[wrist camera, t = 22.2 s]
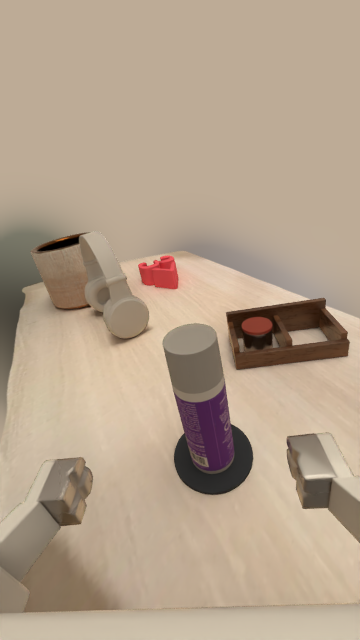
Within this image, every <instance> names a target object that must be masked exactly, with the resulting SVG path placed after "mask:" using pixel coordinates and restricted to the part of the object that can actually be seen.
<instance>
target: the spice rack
mask: <svg viewBox="0 0 360 640" xmlns="http://www.w3.org/2000/svg"><path fill="white" fill-rule="evenodd" d="M325 305H326V300H325V298H319V299H313V300H306V301H299V302H292V303H286V304H279V305H272V306H265V307H259V308H252V309H245V310H238V311H232V312H226V316H227V324H228V333H229V339H230V344H231V348H232V352H233V357H234V361H235V365H236V369H245V368H254V367H262V366H270V365H278V364H286V363H294V362H302V361H310V360H318V359H326V358H335V357H343V356H348V350H349V343H350V342H349V340H348V339H347V334H348V332H347V331H346V330H345V329H344V328H343V327H342V326H341V325H340V324H339V322H338V321H337V320H336V319H335V318H334V317H333V316H332V315H331V314H330V313H329V312H328V311H327V310H326V308H325ZM253 317H263V318H267V319H269V320H270V321H271V322H272V334H273V333H274V335H275V337H276V339H277V341H278V344H279V346H280V347H279V348H271V349H263V350H256V351H248V352H240V350H239V344H238V341H237V338H243V332H242V323H243V322H244V321H245V320H246V319H249V318H253ZM317 327H319V328H320V329H321V330H322V332H323V333H324V334H325V336H326V337H327V338H328V339H329V341H325V342H317V343H309V344H302V345H294V346H292V339H291V337H290V335H289V333H288V332H287V331H295V330H302V329H309V328H317Z"/></svg>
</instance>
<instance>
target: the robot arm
mask: <svg viewBox="0 0 360 640" xmlns="http://www.w3.org/2000/svg"><path fill="white" fill-rule="evenodd" d="M287 445H288V449H287V459H288V464H289V468H290V472H291V475H292V477H293V478H294V479H295V480H296V490H297V493H298V496H299V499H300V502H301V505H302V508H303V509H314V508H328V510H329V511H330V512H331V513H332V514H333V515H334V516H335V517H336V518H337V519H338V520H339V521H340V522H341V524H342V525H343V526H344V527H345V528H346V529H347V530H348V531H349V532H350V533H351V534H352V535H353V536H354V537H355V538H356V539H357V541H358V542H359V543H360V477H359V476H354V475H353V473H352V471H351V470H350V468H349V466H348V464H347V462H346V460H345V458H344V456H343V454H342V453H341V451H340V449H339V447H338V445H337V443H336V441H335V439H334V437H333V436H332V434H331V433H329V432H326V433H318V434H305V435H297V436H288V437H287ZM85 463H86V462H85V460H84V459H83V457H79V458H67V459H54V460H46V461H45V462H44V463H43V464H42V466H41V468H40V470H39V472H38V474H37V476H36V478H35V480H34V482H33V484H32V486H31V488H30V490H29V492H28V494H27V496H26V499H25V501H24V503H20V504H19V505H18V506H17V507H16V508H14V509H13V510H12V511H11V512H10V513H9V514H8V515H7V516H6V517H5V518H4V519H3V520H2V521H1V522H0V640H360V603H343V604H308V605H273V606H238V607H203V608H168V609H133V610H99V611H64V612H29V613H23V612H24V609H25V606H26V603H27V601H28V598H29V595H30V593H29V590H28V589H27V588H26V587H25V586H23V585H22V584H21V583H20V582H21V580H22V579H23V578H24V576H25V575H26V574H27V572H28V571H29V570H30V568H31V567H32V566H33V564H34V563H35V562H36V560H37V559H38V557H39V556H40V555H41V553H42V552H43V551H44V549H45V548H46V547H47V545H48V544H49V543H50V541H51V540H52V539H53V537H54V536H55V535H56V533H57V532H58V530H59V529H60V528H61V527H60V526H67V525H77V524H81V522H82V519H83V516H84V512H85V509H86V506H87V505H86V502H85V499H86V498H87V496H88V495H89V494H90V492H91V489H92V482H93V476H92V472H91V470H90V469H89V468H88V467H86V466H85Z"/></svg>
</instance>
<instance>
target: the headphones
mask: <svg viewBox="0 0 360 640" xmlns="http://www.w3.org/2000/svg"><path fill="white" fill-rule="evenodd" d="M79 244H80V249H81V253H82V257H83V261H84V262H83V265H84V266H85V267H86V271H87V276H88V283H87V285H86V287H85V292H84V294H85V298H86V301H87V302H88V304H89V305H90V306H91V307H93V308H94V309H95V310H97V311H100V312H103V318H104V321H105V323H106V325H107V327H108V329H109V331H110V332H111V333H112V334H114V335H115V336H117V337H119V338H125V339H126V338H132V337H135V336H137V335H138V334H140V333H141V332H142V331H143V330H144V329H145V327H146V325H147V323H148V320H149V311H148V308H147V306H146V305H145V303H144V302H143V301H142V300H141V299H139V298H137V297H135V296H134V295H132V293H131V291H130V288H129V286H128V284H127V282H126V279H127V278H126V275H125V274H124V273H123V272H122V269H121V267H120V265H119V263H118V260H117V258H116V256H115V254H114V252H113V250H112V248H111V247H110V245H109V243H108V242H107V240H106V239H105V237H104V236H103V235H102V234H101V233H100V232H98V231H94V232H91V233H87V234H84V235H80V237H79Z"/></svg>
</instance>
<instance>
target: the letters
mask: <svg viewBox="0 0 360 640" xmlns="http://www.w3.org/2000/svg"><path fill="white" fill-rule="evenodd" d="M160 259H161V261H157V260H155V261H153V262H154V264H153V265H150V266H147V264H146V263H141V264H139V265H138V267H139V270H140V274H141V278H142V282H143V283H144V284H145V285H155V286H156V287H161V288H170V289H177V287H178V274H177V269H176V264H175V261H174V257H172V256H162V257H160Z"/></svg>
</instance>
